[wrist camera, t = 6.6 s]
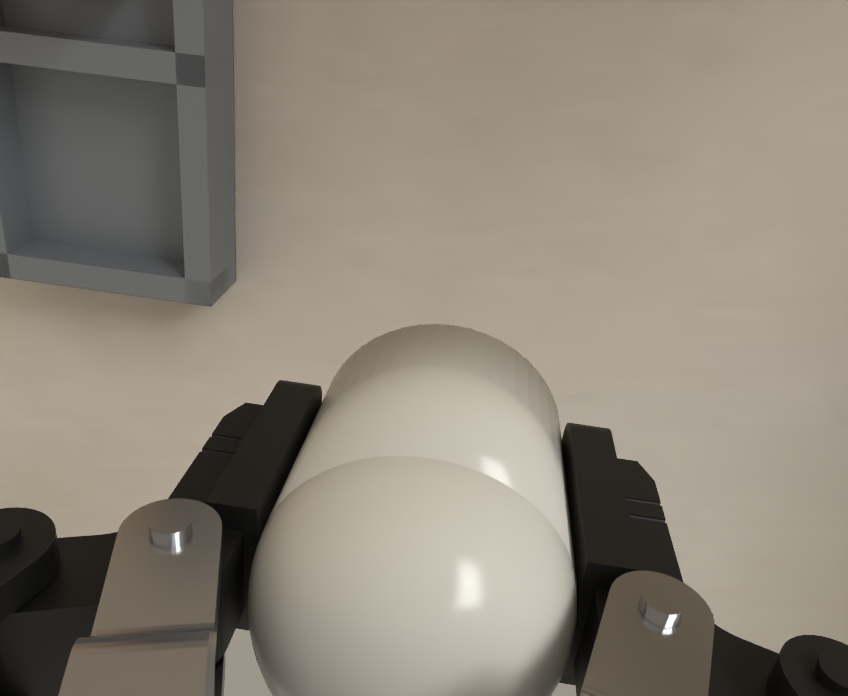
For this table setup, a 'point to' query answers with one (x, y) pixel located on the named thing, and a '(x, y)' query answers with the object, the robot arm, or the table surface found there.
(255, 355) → the table surface
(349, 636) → the cream egg
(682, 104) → the table surface
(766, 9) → the table surface
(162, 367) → the table surface
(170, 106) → the egg tray
